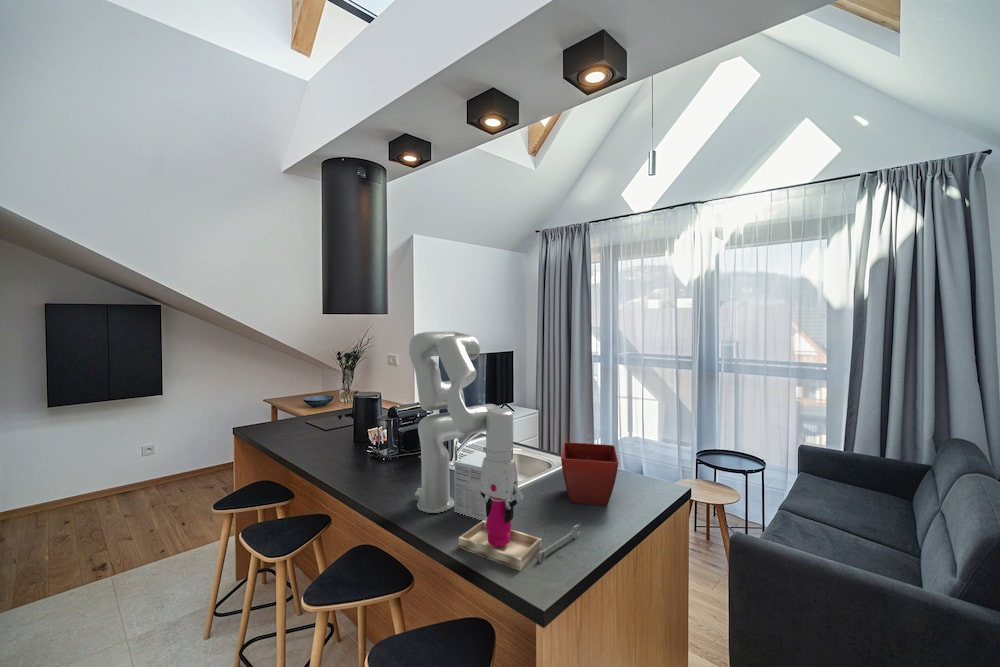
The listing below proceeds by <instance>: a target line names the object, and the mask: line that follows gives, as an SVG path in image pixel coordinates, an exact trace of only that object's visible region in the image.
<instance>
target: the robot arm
mask: <svg viewBox="0 0 1000 667" xmlns="http://www.w3.org/2000/svg"><path fill="white" fill-rule="evenodd" d="M480 346H481V345H480V343H479V341H478V339H477V338H476V337H474V336H473V335H471V334H466V333H463V332H459V331H424V332H420V333H416V334H415V335H413V336H411V339H410V342H409V346H408V353H409V358H410V361H411V363H412V366H413V368H414V371H415V372H414V373H415V378H416V379H415V380H416V386H417V387H416V388H417V395H418V402H419V406H420V408H421V409H422V410H424V411H426V412H427V411H428V412H432V411H439V410H445V409H447V412H441V413H440V412H439V413H436V414H430V415H427V416H424V417H423V418H422V419H421V420H420V421H419V422H418V426H417V427H418V428H417V433H418V437H419V443H420V450H421V452H420V453H421V457H420V461H421V487H418V488H417V489H416V492H414V496H415V497H419V500H418V502H417V504H416V507H418V508H417V509H419V510H418V511H420V510H421V511H423V512H422V513H424V512H428V513H438V514H440V513H439V512H443V513H445V512H444V511H446V512H448V511H447V510H449V509H450V510H452V509H453V508H452V507H455V499H454V498H453V497H451V494H450V491H451V490H450V488H451V487H450V485H451V484H450V477H451V476H450V472H451V471H450V453H449V451H448V448H446V446H445V445H444V443H445V442H447V441H451V440H455V439H456V440H457V439H460V438H462V437H464V436H465V435H473V434H476V433H481V432H486V433H485V434H486V435H485V446H483V448H482V452H484V453H486V457H484V459H483V463H482V469H481V479H480V483H479V484H478V485H477V489H478V490H479V492H481V495H482V497H483V498H484V502H485V503H486V517H488V516H489V513H490V510H491V506H492V500H491V499H490V496H492V497H496V498H500V499H503V500H505V503H506V507H507V508H506V509H505V523H508V522H510V521H511V522H512V520H514V507H515V506H516V505H517V504H518V503H519V502H522V500H524V499H525V496H524V495H523V493H522V492H521V490H520V489H519V484H518V483H519V482H518V471H517V470H518V469H517V465H516V460H515V459H514V415H513V412H512V411H510V410H509V409H506V408H501V407H499V406H497V405H496V404H493V403H486V404H477V405H472V406H466V401H465V395H464V394H465V393H464V391H463V389H464V388H466V387H468V386H469V385H470V384H472V383H473V382H474V381H475V379H476V378H477V375H478V374H477V370H476V368H475V366H474V364H473V363H472V361H474V360H476V359H478V357H479V356H480V353H481V347H480ZM432 357H439V359H440V361H441V364H442V366H443V368H444V370H445V372H446V374H447V377H448V379H449V380H446V381H443V380H442V377H441V376H442V375H441V370H440V367H439V366H438V363H437V362H436V361H435V360H434V359H433V358H432ZM492 484H494V485H496V491H495V492H493V491H492V490H491V487H490V486H491V485H492ZM515 496H516V498H515ZM451 508H452V509H451ZM450 510H449V511H450ZM421 511H420V512H421ZM428 513H427V514H428Z"/></svg>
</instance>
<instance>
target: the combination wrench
mask: <svg viewBox="0 0 1000 667" xmlns="http://www.w3.org/2000/svg"><path fill="white" fill-rule="evenodd" d="M578 528H580V524H576V525H573V527H572V529H571V531H570V532H569V533H567V535H565V536H563V537H561V538H560V539H558V540H557V541H555V542H553V543H552V544H551V545H549V546H547V547H546V548H545V549H541V550H540V551H539V552H538V554H537V555H536V560H537V562H539V563H542V562H543V561H545V559H546V557H547V555H549V554H551V553H552V552H553V551H555V550H556V549H558V548H559V547H560V546H562V545H564V544H565V543H566V542H568V541H569V540H570V539H574V540H575V539H577V538H579V536H580V534H581V531H580V530H578ZM577 530H578V531H577Z"/></svg>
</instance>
